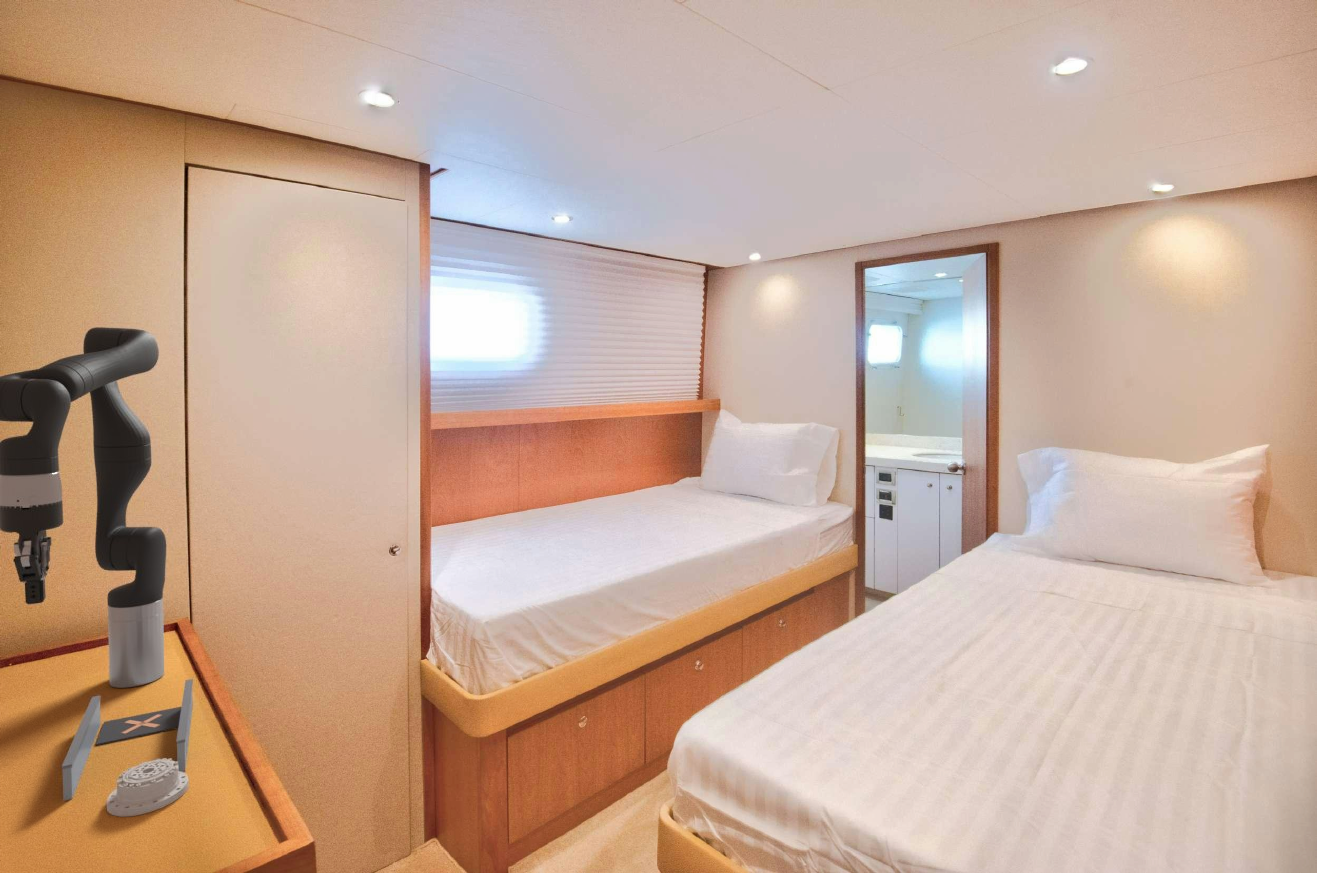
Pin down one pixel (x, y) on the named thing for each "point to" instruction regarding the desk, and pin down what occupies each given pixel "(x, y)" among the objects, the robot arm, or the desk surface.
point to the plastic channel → (89, 730)
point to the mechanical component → (147, 788)
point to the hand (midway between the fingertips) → (35, 602)
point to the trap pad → (139, 725)
